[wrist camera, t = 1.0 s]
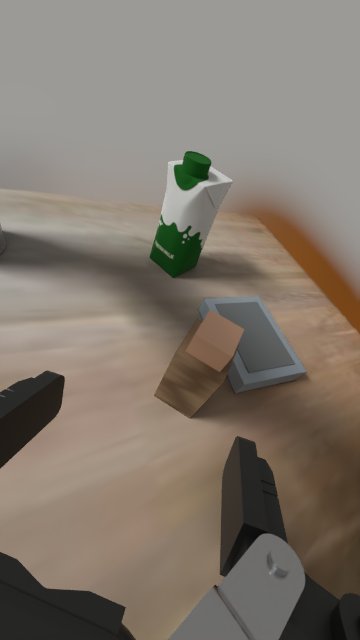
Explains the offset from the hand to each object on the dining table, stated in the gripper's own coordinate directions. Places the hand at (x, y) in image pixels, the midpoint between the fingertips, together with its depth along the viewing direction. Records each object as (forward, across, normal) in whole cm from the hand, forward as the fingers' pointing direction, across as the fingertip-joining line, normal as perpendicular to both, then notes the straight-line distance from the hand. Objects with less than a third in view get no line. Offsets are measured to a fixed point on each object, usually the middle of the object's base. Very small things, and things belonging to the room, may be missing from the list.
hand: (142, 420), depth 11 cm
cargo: (+16, -2, +2) cm, 16 cm away
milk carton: (+43, +9, -3) cm, 44 cm away
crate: (+22, -1, +11) cm, 24 cm away
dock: (+33, -9, +6) cm, 35 cm away
